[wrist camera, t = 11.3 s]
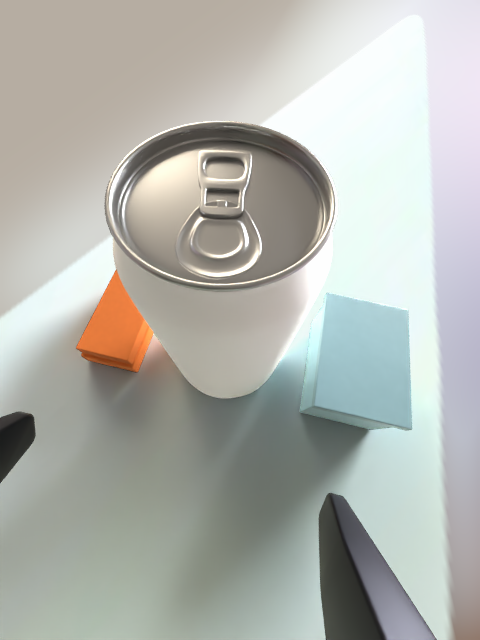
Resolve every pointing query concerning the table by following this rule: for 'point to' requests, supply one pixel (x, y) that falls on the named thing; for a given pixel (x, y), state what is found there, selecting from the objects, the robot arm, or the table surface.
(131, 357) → the orange rectangular block
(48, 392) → the table surface
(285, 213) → the can
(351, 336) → the box
